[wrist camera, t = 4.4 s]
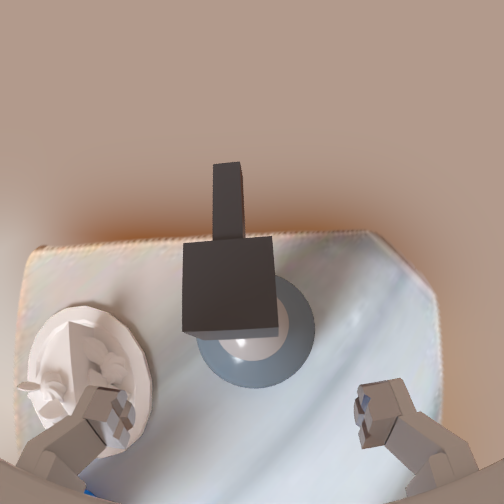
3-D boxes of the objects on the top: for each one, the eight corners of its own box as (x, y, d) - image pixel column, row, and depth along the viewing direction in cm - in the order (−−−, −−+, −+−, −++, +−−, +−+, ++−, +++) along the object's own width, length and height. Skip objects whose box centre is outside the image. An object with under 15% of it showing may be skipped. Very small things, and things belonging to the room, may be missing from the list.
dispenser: (309, 381, 39) (331, 390, 22) (219, 386, 39) (181, 397, 23) (302, 295, 43) (317, 249, 27) (216, 301, 44) (180, 259, 27)
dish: (140, 479, 35) (104, 503, 24) (24, 418, 38) (-19, 419, 28) (170, 330, 43) (137, 316, 32) (48, 292, 47) (7, 273, 36)
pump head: (278, 340, 18) (278, 327, 12) (212, 343, 18) (182, 331, 13) (268, 212, 21) (264, 155, 15) (210, 217, 21) (187, 163, 16)
